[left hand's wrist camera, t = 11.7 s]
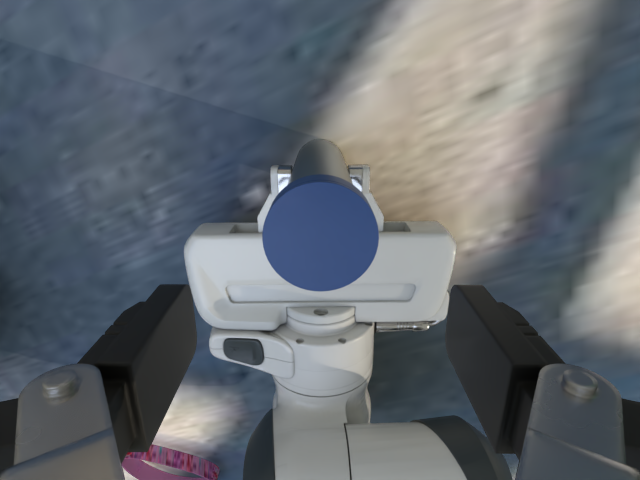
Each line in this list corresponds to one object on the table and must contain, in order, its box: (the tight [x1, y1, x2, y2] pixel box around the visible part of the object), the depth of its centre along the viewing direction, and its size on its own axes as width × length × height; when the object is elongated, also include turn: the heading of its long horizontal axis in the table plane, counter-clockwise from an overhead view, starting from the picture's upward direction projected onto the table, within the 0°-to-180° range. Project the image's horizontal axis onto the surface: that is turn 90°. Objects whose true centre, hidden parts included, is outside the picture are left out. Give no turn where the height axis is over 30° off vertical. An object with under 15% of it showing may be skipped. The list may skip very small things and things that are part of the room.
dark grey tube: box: [288, 139, 353, 184], centre depth 26 cm, size 4×4×19 cm
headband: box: [122, 444, 220, 480], centre depth 46 cm, size 11×4×2 cm, turn 69°
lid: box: [262, 174, 379, 292], centre depth 18 cm, size 5×5×2 cm
